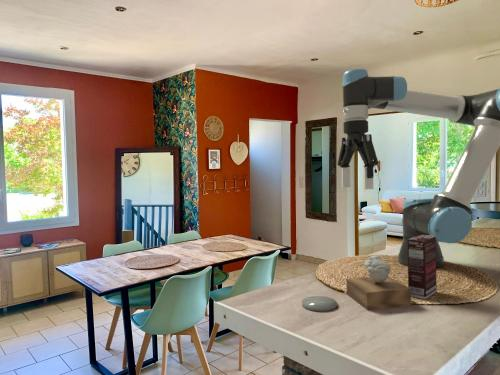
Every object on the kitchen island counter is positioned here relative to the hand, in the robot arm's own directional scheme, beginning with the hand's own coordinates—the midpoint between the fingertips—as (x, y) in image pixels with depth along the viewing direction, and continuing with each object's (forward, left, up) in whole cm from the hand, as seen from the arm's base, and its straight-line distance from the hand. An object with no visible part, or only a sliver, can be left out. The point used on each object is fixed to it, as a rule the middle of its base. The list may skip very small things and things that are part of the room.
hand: (356, 188), depth 121 cm
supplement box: (-8, +20, -29) cm, 36 cm away
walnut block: (+6, +20, -29) cm, 36 cm away
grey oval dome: (+22, +18, -29) cm, 40 cm away
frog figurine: (+6, +19, -24) cm, 32 cm away
